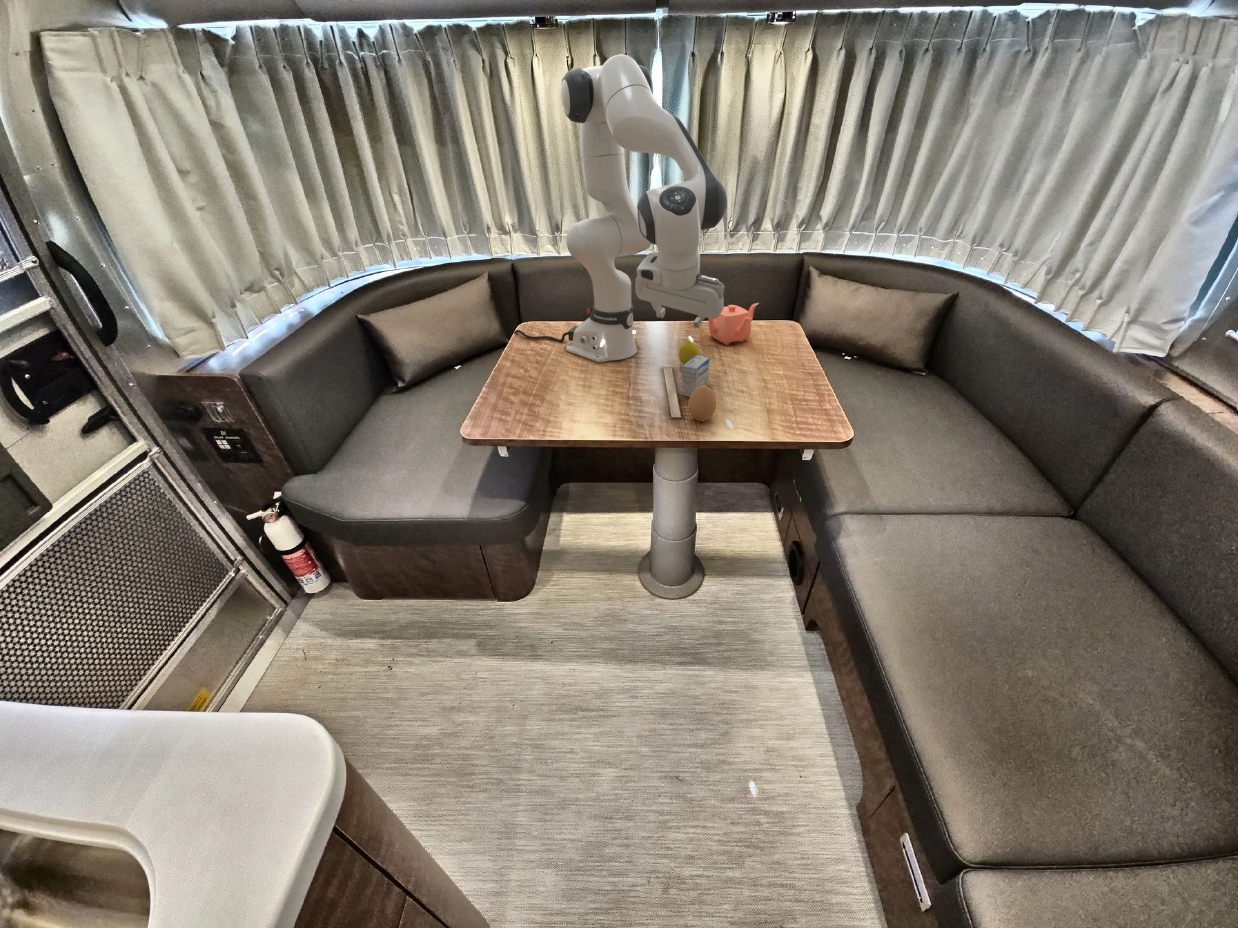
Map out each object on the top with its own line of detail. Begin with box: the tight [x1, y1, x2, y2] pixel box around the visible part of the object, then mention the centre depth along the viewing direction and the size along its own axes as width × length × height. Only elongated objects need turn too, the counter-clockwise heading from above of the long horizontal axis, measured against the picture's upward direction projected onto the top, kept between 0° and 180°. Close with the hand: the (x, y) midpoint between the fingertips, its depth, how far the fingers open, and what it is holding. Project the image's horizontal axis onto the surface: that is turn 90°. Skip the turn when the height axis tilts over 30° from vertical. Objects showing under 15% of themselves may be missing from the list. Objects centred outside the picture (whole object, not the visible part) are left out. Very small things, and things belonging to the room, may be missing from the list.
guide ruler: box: [662, 367, 682, 419], centre depth 143 cm, size 2×28×1 cm, turn 0°
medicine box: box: [680, 355, 711, 398], centre depth 141 cm, size 8×4×9 cm, turn 148°
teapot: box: [707, 302, 759, 346], centre depth 169 cm, size 14×14×11 cm
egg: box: [687, 386, 717, 422], centre depth 129 cm, size 7×7×9 cm
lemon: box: [678, 340, 699, 366], centre depth 153 cm, size 6×6×8 cm
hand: (679, 321), depth 124 cm, fingers open, 8 cm apart
